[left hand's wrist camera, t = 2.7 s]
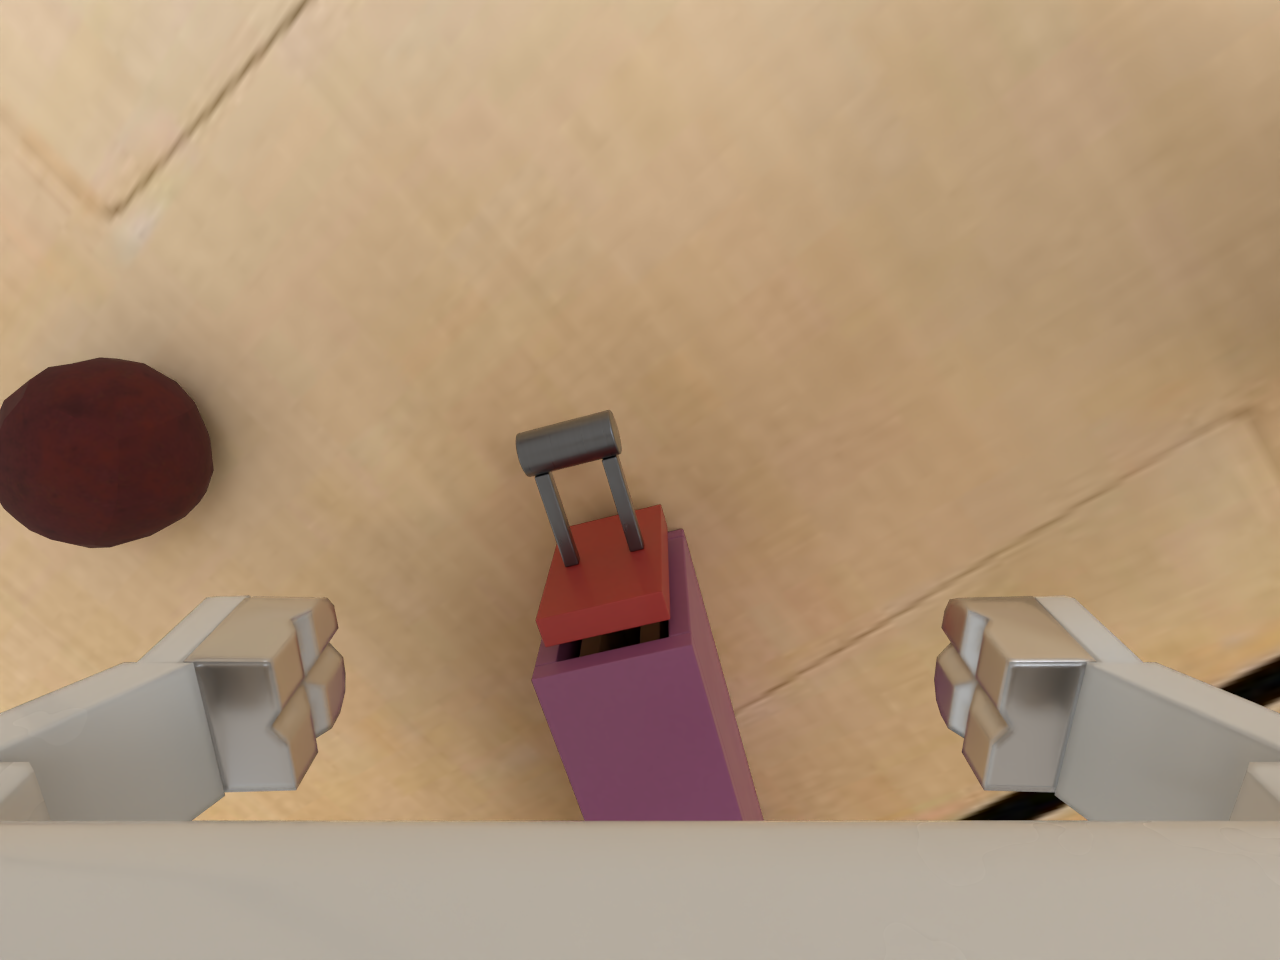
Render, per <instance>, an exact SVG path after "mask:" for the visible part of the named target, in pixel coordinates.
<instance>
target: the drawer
mask: <svg viewBox="0 0 1280 960" xmlns="http://www.w3.org/2000/svg"><path fill="white" fill-rule="evenodd" d="M516 450H517V454H518V458H519V461H520V464H521V467H522V469H523V471H524V472H525V474H526V475H527V476H529V477H531V476H535V480H536V483H537V486H538V489H539V492H540V495H541V498H542V501H543V504H544V507H545V510H546V513H547V516H548V518H549V521H550V524H551V527H552V530H553V533H554V536H555V539H556V542H557V545H556V549H555V552H554V556H553V559H552V563H551V567H550V570H549V574H548V577H547V581H546V585H545V588H544V592H543V595H542V599H541V603H540V606H539V610H538V613H537V617H536V623H537V626H538V629H539V631H540V634H541V637H542V640H543V642H544V645H545V647H550V646H554V645H559V644H563V643H568V642H572V641H576V640H581V639H582V644H581V650H580V656H579V657H582V656H586V655H591V654H595V653H600V652H604V651H609V650H613V649H618V648H622V647H627V646H631V645H636V644H640V643H645V642H649V641H654V640H658V639H663V638H667V637H669V629H668V620H669V619H670V593H669V563H668V533H667V524H666V521H665V517H664V514H663V510H662V507H661V505H656V506H652V507H648V508H644V509H639V510H634V506H633V503H632V500H631V496H630V493H629V490H628V486H627V483H626V480H625V476H624V473H623V469H622V466H621V463H620V459H619V456H618V455H619V454H621V451H622V448H621V441H620V436H619V432H618V428H617V424H616V421H615V418H614V416H613V414H612V412H611V411H610V410H607V411H603V412H599V413H595V414H591V415H587V416H584V417H580V418H576V419H572V420H568V421H564V422H560V423H557V424H553V425H549V426H545V427H541V428H537V429H533V430H530V431H526V432H522V433H518V434H517V436H516ZM599 459H602V463H603V466H604V469H605V472H606V476H607V479H608V482H609V486H610V489H611V492H612V495H613V499H614V502H615V505H616V508H617V512H618V515H615V516H611V517H607V518H602V519H598V520H594V521H590V522H586V523H582V524H578V525H574V526H569V523H568V520H567V517H566V514H565V511H564V508H563V505H562V502H561V499H560V496H559V493H558V490H557V487H556V484H555V481H554V478H553V475H552V472H551V471H555V470H559V469H563V468H567V467H571V466H575V465H579V464H583V463H587V462H591V461H595V460H599Z"/></svg>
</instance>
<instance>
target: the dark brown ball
mask: <svg viewBox="0 0 1280 960" xmlns="http://www.w3.org/2000/svg"><path fill="white" fill-rule="evenodd" d="M212 473H213V462H212V453H211V444H210V438H209V434H208V431H207V429H206V427H205V425H204V422H203V420H202V418H201V416H200V413H199V411H198V409H197V407H196V404H195V402H194V401H193V400H192V399H191V398H190V397H189V396H188V395H187V393H186V392H185V391H184V390H183V389H182V388H181V387H180V386H179V385H178V383H177V382H175V381H173V380H172V379H170V378H168V377H167V376H165V375H163V374H161V373H160V372H158V371H156V370H155V369H153V368H151V367H149V366H147V365H146V364H144V363H138V362H132V361H127V360H121V359H113V358H96V359H91V360H87V361H82V362H77V363H73V364H67V365H60V366H54V367H48V368H47V369H45V370H44V371H42V372H41V373H39V374H38V375H36V376H35V377H33V378H32V379H30V380H29V381H28V382H27V383H25V384H24V385H23V386H22V387H20V388H19V389H18V390H17V391H15V392H14V393H13V394H12V395H10V396H9V397H8V398H7V399H5V400H4V402H3V404H2V407H1V409H0V503H1V505H2V506H3V508H4V509H5V510H6V511H7V512H8V513H9V514H11V515H12V516H13V517H14V518H15V519H16V520H17V521H19V522H20V523H21V524H23V525H24V526H25V527H26V528H28V529H29V530H31V531H33V532H35V533H37V534H40V535H42V536H44V537H47V538H49V539H51V540H56V541H60V542H65V543H69V544H74V545H79V546H83V547H88V548H104V547H113V546H116V545H120V544H123V543H127V542H130V541H133V540H137V539H140V538H144V537H147V536H151V535H152V534H154V533H156V532H158V531H160V530H162V529H163V528H165V527H167V526H169V525H171V524H173V523H174V522H176V521H178V520H180V519H182V518H183V517H185V516H186V515H187V514H188V513H189V512H190V511H191V510H192V509H193V508H194V507H195V506H196V505H197V504H198V503H199V502H200V500H201V499H202V497H203V496H204V494H205V493H206V491H207V488H208V485H209V482H210V479H211V476H212Z"/></svg>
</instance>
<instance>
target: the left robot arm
mask: <svg viewBox="0 0 1280 960" xmlns="http://www.w3.org/2000/svg"><path fill="white" fill-rule="evenodd" d="M337 629H338V624H337V619H336V613H335V608H334V605H333V604H332V603H331V602H330V601H329V599H328V598H313V597H259V596H254V597H250V596H216V597H207V598H206V599H204V600H203V601H202V602H201V603H200V604H199V605H198V606H197V607H196V608H195V609H194V610H193V611H192V612H190V613H189V614H188V615H187V616H186V617H185V618H184V619H183V620H182V621H181V622H180V623H179V624H178V625H176V626H175V627H174V628H173V629H172V630H171V631H170V632H169V633H168V634H167V635H166V636H165V637H164V638H162V639H161V640H160V641H159V642H158V643H157V644H156V645H155V646H154V647H153V648H152V649H151V650H150V651H148V652H147V653H146V654H145V655H144V656H143V657H142V658H141V659H140V660H139V661H138V662H129V663H122V664H119V665H117V666H114V667H112V668H109V669H107V670H104V671H102V672H100V673H97V674H95V675H92V676H90V677H87V678H85V679H83V680H80V681H78V682H75V683H73V684H70V685H68V686H65V687H63V688H61V689H58V690H56V691H53V692H51V693H48V694H46V695H43V696H41V697H39V698H36V699H34V700H31V701H29V702H26V703H24V704H22V705H19V706H17V707H14V708H12V709H9V710H7V711H4V712H2V713H0V960H1280V713H1278V712H1275V711H1273V710H1270V709H1268V708H1265V707H1263V706H1261V705H1258V704H1256V703H1253V702H1251V701H1248V700H1246V699H1244V698H1241V697H1239V696H1236V695H1234V694H1231V693H1229V692H1227V691H1224V690H1222V689H1219V688H1217V687H1214V686H1212V685H1210V684H1207V683H1205V682H1202V681H1200V680H1197V679H1195V678H1193V677H1190V676H1188V675H1185V674H1183V673H1180V672H1178V671H1175V670H1173V669H1171V668H1168V667H1166V666H1163V665H1161V664H1158V663H1151V662H1142V661H1141V660H1140V659H1139V658H1138V657H1137V656H1136V655H1135V654H1134V653H1133V652H1132V651H1131V650H1129V649H1128V648H1127V647H1126V646H1125V645H1124V644H1123V643H1122V642H1121V641H1120V640H1119V639H1118V638H1117V637H1116V636H1114V635H1113V634H1112V633H1111V632H1110V631H1109V630H1108V629H1107V628H1106V627H1105V626H1104V625H1103V624H1102V623H1100V622H1099V621H1098V620H1097V619H1096V618H1095V617H1094V616H1093V615H1092V614H1091V613H1090V612H1089V611H1088V610H1087V609H1085V608H1084V607H1083V606H1082V605H1081V604H1080V603H1079V602H1078V601H1077V600H1076V599H1075V598H1071V597H1068V596H1065V595H1062V596H1039V597H1033V596H1025V597H983V598H956V599H950V600H949V602H948V604H947V607H946V609H945V611H944V617H943V623H942V629H943V631H944V632H945V634H946V635H947V637H948V638H949V640H950V641H951V643H950V644H949V645H948V646H947V647H946V648H945V649H944V650H943V651H942V652H941V653H940V654H939V655H938V657H937V661H936V669H935V677H934V682H935V692H936V701H937V704H938V707H939V710H940V714H941V716H942V718H943V720H944V721H945V723H946V725H947V727H948V728H949V729H950V730H952V731H953V732H955V733H957V734H958V735H960V736H961V737H963V738H964V743H963V749H962V753H963V755H964V757H965V758H966V760H967V762H968V764H969V765H970V767H971V769H972V770H973V772H974V774H975V776H976V777H977V779H978V781H979V782H980V784H981V786H982V788H983V789H984V790H992V791H1029V792H1056V793H1055V796H1057V797H1058V798H1059V799H1061V800H1062V801H1063V802H1064V803H1066V804H1067V805H1068V806H1070V807H1071V808H1072V809H1074V810H1075V811H1076V812H1078V813H1079V814H1080V815H1082V816H1083V817H1084V818H1086V819H1087V820H1088V821H192V820H193V819H194V818H196V817H197V816H198V815H200V814H201V813H202V812H204V811H205V810H206V809H208V808H209V807H210V806H212V805H213V804H214V803H216V802H217V801H218V800H220V799H221V798H222V797H224V796H225V793H224V792H250V791H286V790H296V789H297V788H298V786H299V784H300V783H301V781H302V779H303V777H304V776H305V774H306V772H307V770H308V769H309V767H310V765H311V764H312V762H313V760H314V758H315V757H316V755H317V753H318V749H317V743H316V738H317V737H319V736H320V735H322V734H323V733H325V732H327V731H328V730H330V729H331V728H332V727H333V725H334V723H335V721H336V719H337V718H338V716H339V714H340V711H341V707H342V703H343V698H344V694H345V667H344V660H343V657H342V655H341V654H340V653H339V652H338V651H337V650H336V649H335V648H334V647H333V646H332V645H331V644H330V643H329V641H330V640H331V638H332V637H333V635H334V634H335V632H336V631H337Z"/></svg>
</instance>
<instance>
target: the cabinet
mask: <svg viewBox="0 0 1280 960" xmlns="http://www.w3.org/2000/svg"><path fill="white" fill-rule="evenodd" d="M667 533H668V563H669V593H670V619H669V620H668V629H669V637H667V638H663V639H658V640H654V641H649V642H645V643H640V644H636V645H631V646H627V647H622V648H618V649H613V650H609V651H604V652H600V653H595V654H591V655H586V656H582V657H579V656H580V650H581V644H582V639H581V640H576V641H572V642H568V643H563V644H559V645H554V646H550V647H545V645H544V642H543V640H541V644H540V648H539V652H538V656H537V660H536V664H535V668H534V672H533V676H532V683H533V686H534V688H535V691H536V694H537V696H538V699H539V702H540V704H541V707H542V710H543V712H544V715H545V717H546V720H547V723H548V725H549V728H550V731H551V733H552V736H553V738H554V741H555V744H556V746H557V749H558V752H559V754H560V757H561V760H562V762H563V765H564V767H565V770H566V773H567V775H568V778H569V781H570V783H571V786H572V788H573V791H574V794H575V796H576V799H577V802H578V804H579V807H580V809H581V812H582V815H583V817H584V820H585V821H764V820H763V816H762V813H761V809H760V806H759V802H758V798H757V795H756V791H755V787H754V784H753V780H752V777H751V773H750V769H749V766H748V762H747V758H746V755H745V751H744V748H743V744H742V740H741V737H740V733H739V729H738V726H737V722H736V719H735V715H734V711H733V708H732V704H731V700H730V697H729V693H728V690H727V686H726V682H725V679H724V675H723V671H722V668H721V664H720V661H719V657H718V653H717V650H716V646H715V642H714V639H713V635H712V632H711V628H710V624H709V621H708V617H707V613H706V610H705V606H704V603H703V599H702V595H701V592H700V588H699V584H698V581H697V577H696V574H695V570H694V566H693V563H692V559H691V556H690V552H689V548H688V545H687V541H686V537H685V534H684V530H683V529H679V530H675V531H671V532H667Z"/></svg>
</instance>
